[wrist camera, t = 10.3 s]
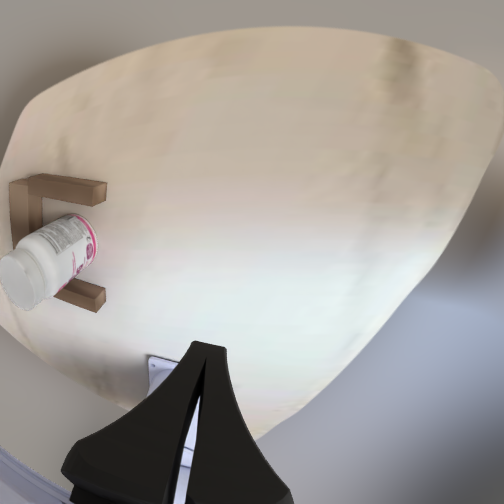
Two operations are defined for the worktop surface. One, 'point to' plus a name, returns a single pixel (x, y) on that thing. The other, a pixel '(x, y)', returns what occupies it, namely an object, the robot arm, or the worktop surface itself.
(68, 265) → the pill bottle
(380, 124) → the worktop surface
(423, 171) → the worktop surface
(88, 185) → the notched board
